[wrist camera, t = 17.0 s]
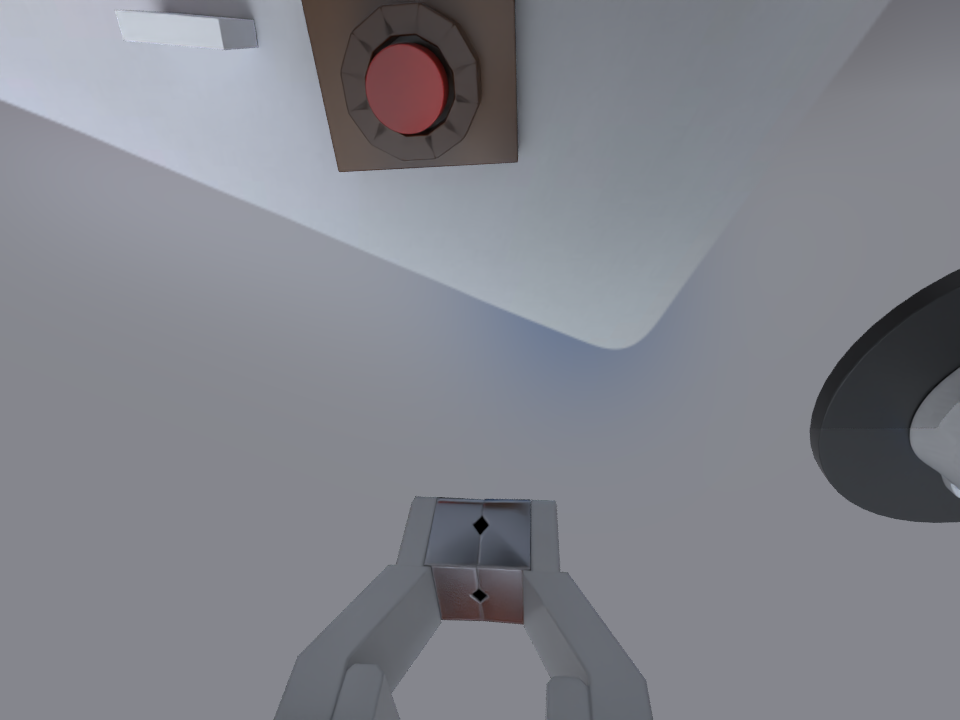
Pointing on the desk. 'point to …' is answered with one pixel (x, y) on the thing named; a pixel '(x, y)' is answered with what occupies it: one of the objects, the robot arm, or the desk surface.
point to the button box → (465, 57)
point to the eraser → (186, 30)
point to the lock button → (406, 87)
